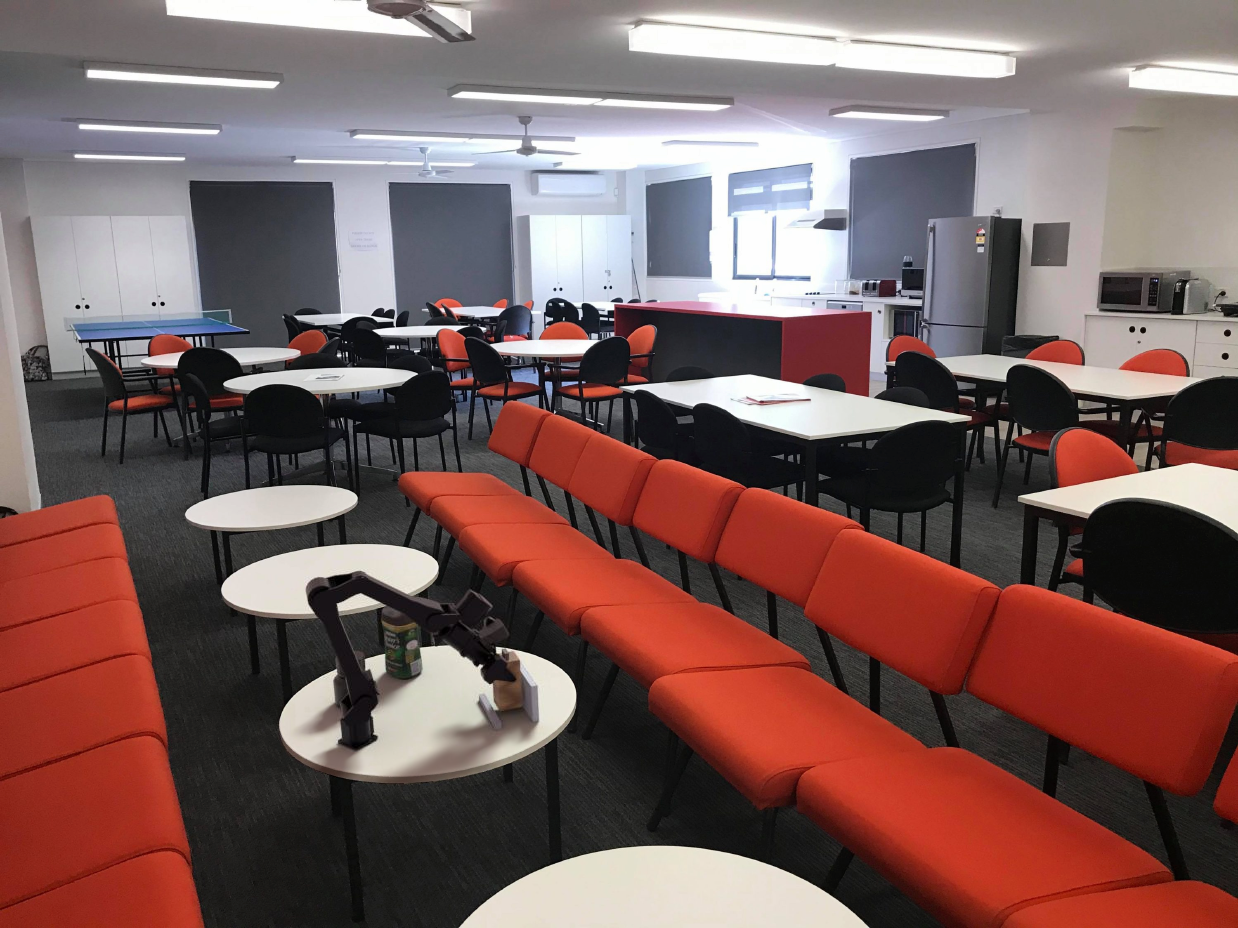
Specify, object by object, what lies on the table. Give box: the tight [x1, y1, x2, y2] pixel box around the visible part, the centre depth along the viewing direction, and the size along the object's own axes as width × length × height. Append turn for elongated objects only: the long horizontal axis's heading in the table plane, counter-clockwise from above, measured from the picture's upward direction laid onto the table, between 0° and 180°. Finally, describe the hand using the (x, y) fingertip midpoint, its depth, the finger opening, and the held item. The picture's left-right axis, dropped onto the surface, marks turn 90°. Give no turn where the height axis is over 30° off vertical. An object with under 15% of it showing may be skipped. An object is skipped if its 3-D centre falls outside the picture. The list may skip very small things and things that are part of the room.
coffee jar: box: [380, 605, 424, 680], centre depth 243 cm, size 10×8×19 cm
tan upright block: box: [492, 648, 523, 712], centre depth 221 cm, size 6×6×14 cm
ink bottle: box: [332, 650, 367, 709], centre depth 228 cm, size 10×9×12 cm
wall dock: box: [478, 660, 540, 731], centre depth 222 cm, size 10×16×9 cm, turn 22°
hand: (511, 675), depth 222 cm, fingers closed on tan upright block, 5 cm apart
